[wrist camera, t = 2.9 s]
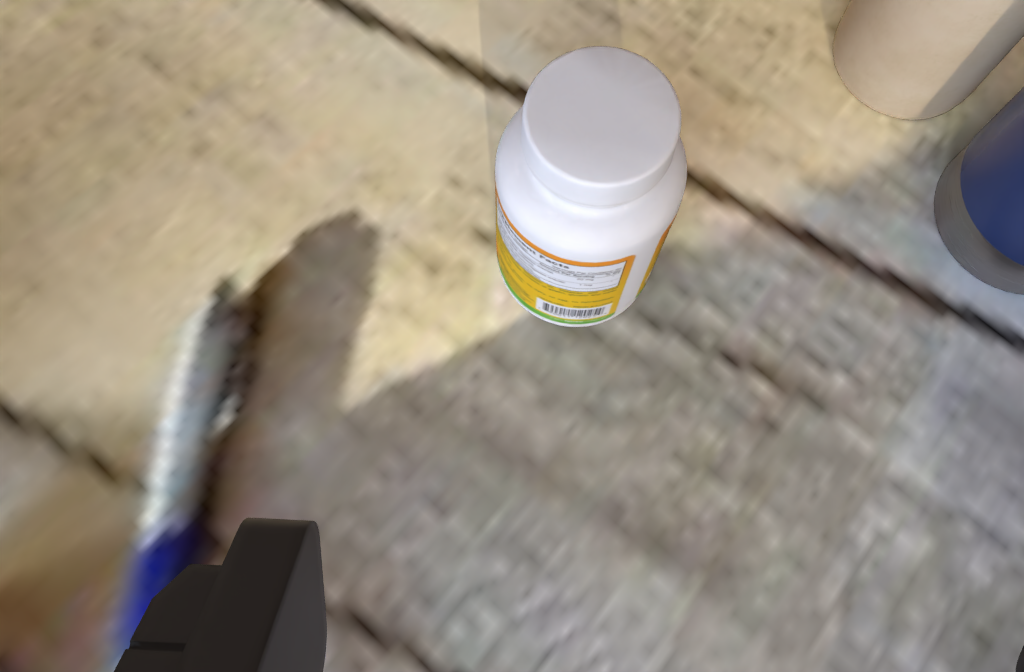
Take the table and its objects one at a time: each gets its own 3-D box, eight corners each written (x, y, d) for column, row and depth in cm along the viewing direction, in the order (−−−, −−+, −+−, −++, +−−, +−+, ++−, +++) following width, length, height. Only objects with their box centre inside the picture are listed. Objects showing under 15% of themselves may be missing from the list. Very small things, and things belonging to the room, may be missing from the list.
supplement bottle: (586, 159, 33) (620, -17, 24) (681, 272, 32) (756, 133, 22) (465, 241, 32) (451, 91, 23) (558, 361, 31) (583, 254, 21)
